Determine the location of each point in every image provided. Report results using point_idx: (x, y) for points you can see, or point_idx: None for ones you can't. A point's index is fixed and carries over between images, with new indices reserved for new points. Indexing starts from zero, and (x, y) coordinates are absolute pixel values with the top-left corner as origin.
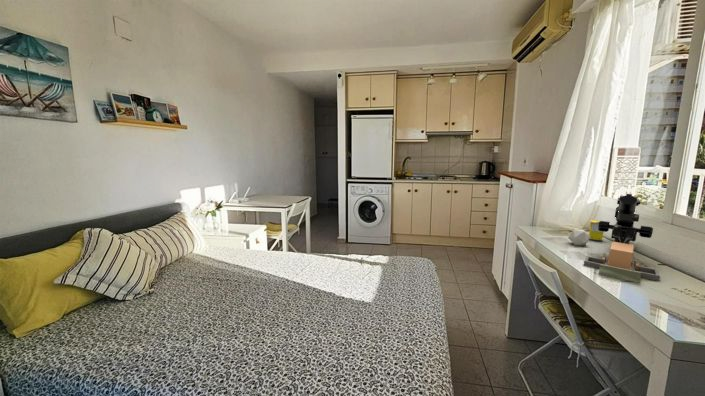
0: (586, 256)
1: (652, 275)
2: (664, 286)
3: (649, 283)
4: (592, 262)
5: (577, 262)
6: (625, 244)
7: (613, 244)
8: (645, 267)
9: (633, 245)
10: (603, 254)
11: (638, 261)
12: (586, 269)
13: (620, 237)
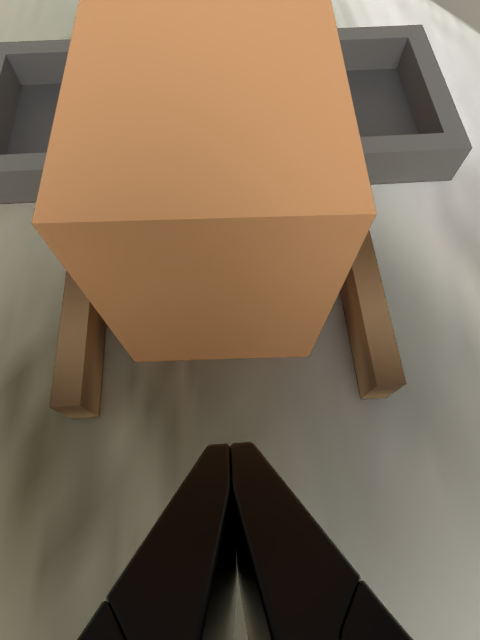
0: (462, 130)
1: (30, 48)
2: (5, 23)
3: (69, 18)
4: (371, 29)
5: (460, 88)
6: (167, 152)
7: (317, 34)
8: (38, 159)
9: (46, 175)
10: (386, 321)
11: (63, 314)
12: (367, 10)
13: (305, 534)
